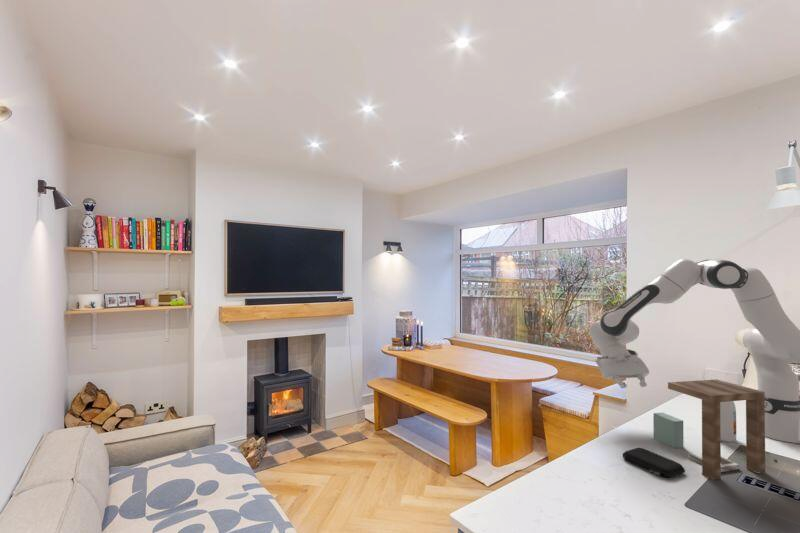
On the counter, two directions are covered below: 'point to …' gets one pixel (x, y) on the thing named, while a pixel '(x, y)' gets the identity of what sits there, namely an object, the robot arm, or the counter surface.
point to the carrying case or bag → (654, 463)
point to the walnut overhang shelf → (711, 434)
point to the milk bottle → (728, 421)
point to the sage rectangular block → (668, 429)
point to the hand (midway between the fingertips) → (634, 387)
